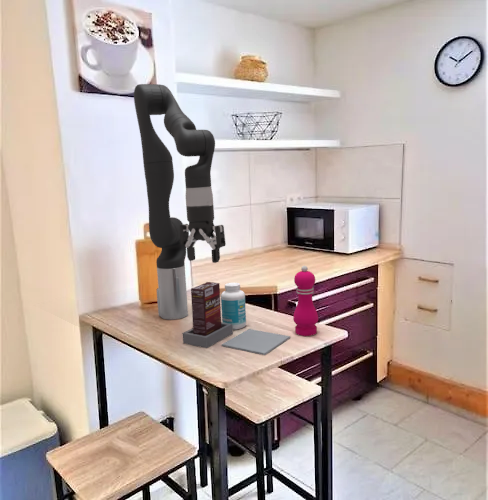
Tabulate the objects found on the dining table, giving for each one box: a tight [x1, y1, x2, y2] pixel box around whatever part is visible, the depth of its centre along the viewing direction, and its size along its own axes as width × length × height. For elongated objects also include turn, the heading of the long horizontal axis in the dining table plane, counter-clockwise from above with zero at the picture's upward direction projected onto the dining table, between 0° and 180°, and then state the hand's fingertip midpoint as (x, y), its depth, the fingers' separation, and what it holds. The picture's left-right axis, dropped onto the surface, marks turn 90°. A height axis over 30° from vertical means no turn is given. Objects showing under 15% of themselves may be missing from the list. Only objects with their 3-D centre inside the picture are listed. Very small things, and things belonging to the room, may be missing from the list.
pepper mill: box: [292, 265, 319, 337], centre depth 135 cm, size 7×7×20 cm
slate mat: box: [221, 328, 291, 356], centre depth 131 cm, size 14×14×1 cm
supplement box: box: [190, 281, 222, 336], centre depth 134 cm, size 9×5×16 cm, turn 152°
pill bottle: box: [220, 282, 247, 330], centre depth 144 cm, size 8×7×14 cm
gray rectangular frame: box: [182, 321, 234, 349], centre depth 136 cm, size 8×12×3 cm
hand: (203, 261), depth 132 cm, fingers open, 8 cm apart
